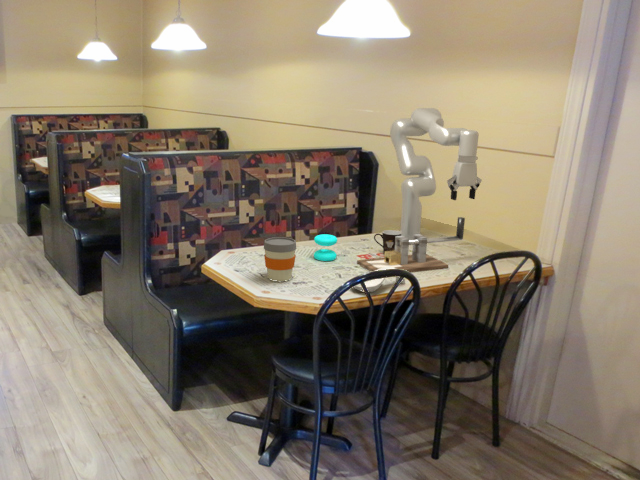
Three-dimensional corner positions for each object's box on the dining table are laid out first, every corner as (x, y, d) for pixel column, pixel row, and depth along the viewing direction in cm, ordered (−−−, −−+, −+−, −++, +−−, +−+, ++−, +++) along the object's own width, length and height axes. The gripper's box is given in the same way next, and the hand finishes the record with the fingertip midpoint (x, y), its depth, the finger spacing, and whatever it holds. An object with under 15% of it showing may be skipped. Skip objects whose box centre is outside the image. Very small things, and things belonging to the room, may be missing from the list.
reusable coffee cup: (301, 280, 227) (302, 243, 223) (273, 285, 221) (273, 247, 217) (285, 271, 237) (286, 235, 233) (257, 276, 231) (257, 239, 227)
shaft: (397, 244, 248) (399, 221, 246) (460, 239, 261) (462, 217, 258) (401, 246, 246) (403, 223, 243) (464, 240, 258) (466, 218, 256)
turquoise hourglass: (310, 235, 256) (329, 232, 261) (309, 257, 258) (328, 254, 263) (321, 240, 248) (341, 237, 253) (321, 263, 250) (340, 260, 255)
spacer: (384, 261, 249) (384, 251, 248) (394, 260, 251) (394, 250, 250) (390, 265, 244) (390, 254, 243) (400, 264, 246) (401, 253, 245)
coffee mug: (403, 254, 268) (405, 232, 265) (392, 257, 261) (394, 235, 259) (383, 248, 275) (384, 228, 273) (371, 252, 269) (373, 230, 266)
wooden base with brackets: (357, 263, 251) (358, 235, 248) (424, 256, 265) (426, 229, 261) (377, 276, 235) (379, 246, 232) (448, 268, 249) (450, 239, 246)
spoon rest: (363, 298, 211) (364, 279, 210) (343, 288, 220) (344, 270, 219) (411, 286, 225) (412, 268, 223) (390, 278, 234) (391, 261, 232)
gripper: (477, 158, 257) (473, 196, 261) (444, 158, 250) (440, 198, 254) (488, 160, 250) (484, 199, 255) (455, 161, 243) (451, 201, 248)
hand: (462, 199), depth 255 cm, fingers open, 9 cm apart
